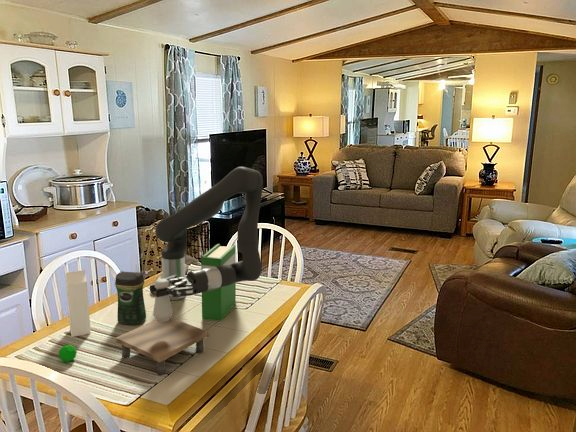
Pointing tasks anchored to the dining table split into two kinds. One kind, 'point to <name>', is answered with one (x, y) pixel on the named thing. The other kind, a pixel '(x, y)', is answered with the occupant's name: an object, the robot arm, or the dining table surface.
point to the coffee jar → (130, 298)
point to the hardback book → (223, 297)
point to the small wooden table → (162, 340)
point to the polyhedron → (67, 353)
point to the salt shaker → (162, 303)
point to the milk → (78, 303)
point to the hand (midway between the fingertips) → (153, 291)
